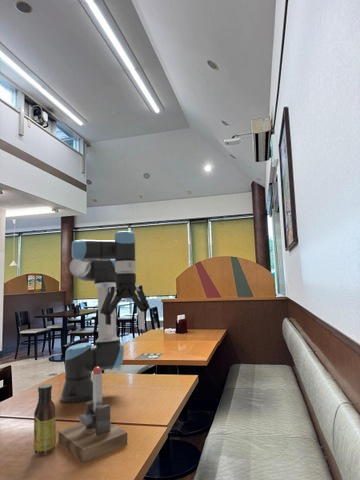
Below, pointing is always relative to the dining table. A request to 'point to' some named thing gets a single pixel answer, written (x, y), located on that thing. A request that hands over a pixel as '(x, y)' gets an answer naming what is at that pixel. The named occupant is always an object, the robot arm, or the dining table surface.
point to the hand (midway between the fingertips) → (126, 331)
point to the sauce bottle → (44, 422)
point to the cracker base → (93, 436)
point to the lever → (94, 398)
